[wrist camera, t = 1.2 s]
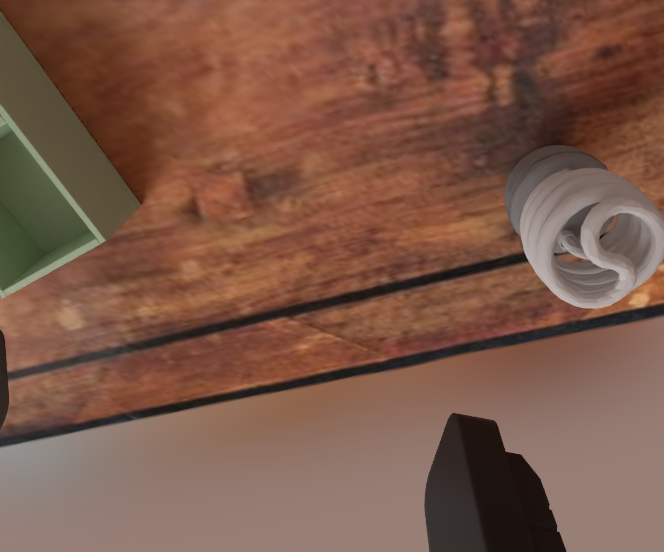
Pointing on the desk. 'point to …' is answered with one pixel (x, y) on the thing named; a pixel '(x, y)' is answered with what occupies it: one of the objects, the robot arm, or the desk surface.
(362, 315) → the desk surface
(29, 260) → the slot rack
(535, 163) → the light bulb
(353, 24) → the desk surface
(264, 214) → the desk surface
